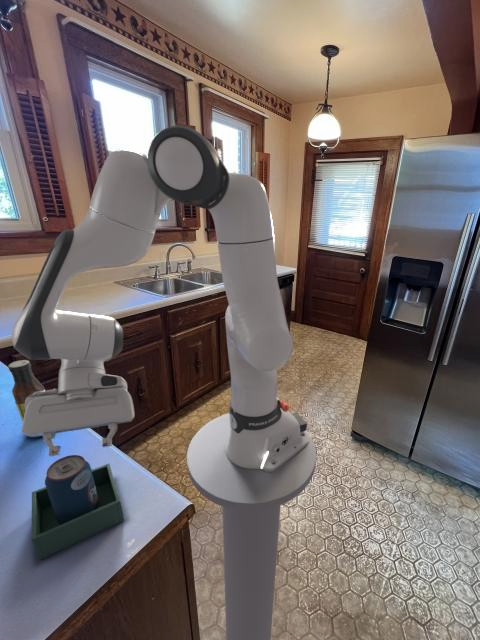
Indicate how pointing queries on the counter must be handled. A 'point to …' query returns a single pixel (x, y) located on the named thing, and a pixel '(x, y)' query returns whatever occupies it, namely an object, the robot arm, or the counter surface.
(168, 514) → the counter surface
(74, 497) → the soda can
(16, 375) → the sauce bottle
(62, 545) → the bin
